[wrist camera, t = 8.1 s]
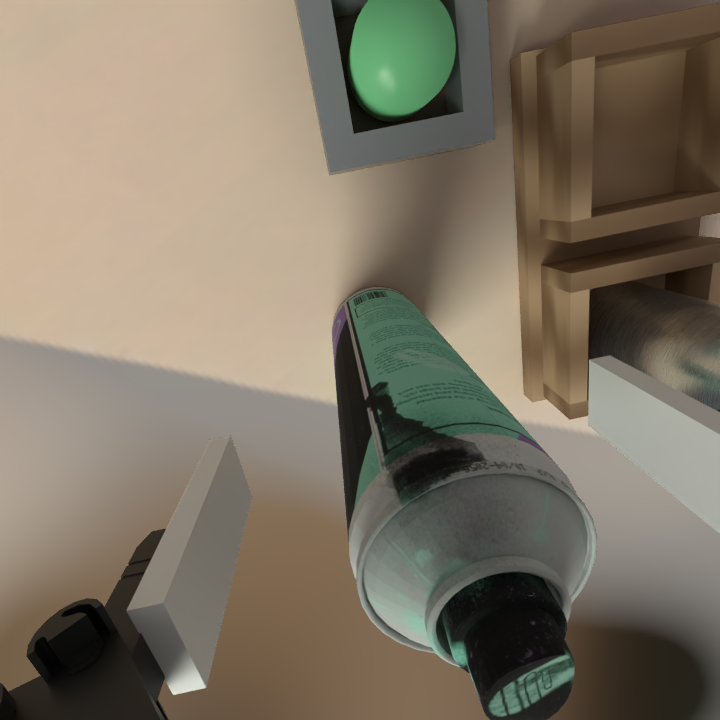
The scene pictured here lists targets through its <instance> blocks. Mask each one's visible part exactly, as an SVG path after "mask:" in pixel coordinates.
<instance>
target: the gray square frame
mask: <svg viewBox="0 0 720 720" xmlns="http://www.w3.org/2000/svg"><path fill="white" fill-rule="evenodd" d="M440 1H441V2H442V4H443V5H444V6H445V8H446V10H447V12H448V13H449V15H450V18H451V21H452V24H453V28H454V32H455V41H456V49H455V58H454V64H453V67H452V70H451V73H450V75H449V78H448V80H447V81H446V83H445V93H446V104H447V114H448V115H445V116H440V117H435V118H430V119H425V120H420V121H415V122H410V123H405V124H400V125H395V126H390V127H385V128H380V129H375V130H370V131H365V132H360V133H355V134H354V133H353V127H352V121H351V116H350V110H349V104H348V98H347V92H346V86H345V80H344V75H343V69H342V63H341V57H340V51H339V45H338V39H337V34H336V28H335V22H334V17H340V16H345V15H350V14H355V13H360V12H361V10H362V8H363V7H364V5H365V4H366V3H367V2H368V0H295V4H296V9H297V14H298V19H299V24H300V29H301V34H302V39H303V45H304V50H305V55H306V60H307V65H308V70H309V75H310V80H311V85H312V90H313V95H314V100H315V105H316V110H317V116H318V121H319V126H320V131H321V136H322V141H323V146H324V151H325V156H326V161H327V166H328V171H329V175H334V174H339V173H344V172H349V171H354V170H359V169H364V168H369V167H374V166H379V165H384V164H389V163H394V162H398V161H403V160H408V159H413V158H418V157H423V156H428V155H433V154H438V153H443V152H448V151H453V150H458V149H463V148H468V147H473V146H477V145H480V144H483V143H486V142H489V141H492V140H494V139H495V130H494V113H493V95H492V77H491V60H490V42H489V24H488V7H487V0H440Z"/></svg>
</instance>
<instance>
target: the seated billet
mask: <svg viewBox="0 0 720 720" xmlns="http://www.w3.org/2000/svg"><path fill="white" fill-rule="evenodd" d="M609 355H610V356H612V357H614V358H616V359H618V360H620V361H622V362H623V363H625V364H627V365H629V366H631V367H633V368H635V369H637V370H639V371H641V372H643V373H645V374H647V375H649V376H651V377H652V378H654V379H656V380H658V381H660V382H662V383H664V384H666V385H668V386H670V387H672V388H674V389H676V390H678V391H680V392H682V393H683V394H685V395H687V396H689V397H691V398H693V399H695V400H697V401H699V402H701V403H703V404H705V405H707V406H709V407H711V408H712V409H714V410H719V409H720V304H718V303H714V302H710V301H706V300H703V299H699V298H695V297H691V296H687V295H683V294H680V293H676V292H672V291H668V290H664V289H660V288H657V287H653V286H649V285H645V284H641V283H637V282H634V281H627V282H622V283H617V284H612V285H607V286H602V287H598V288H594V289H592V290H591V291H590V292H589V335H588V357H589V358H590V359H595V358H600V357H605V356H609Z"/></svg>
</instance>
